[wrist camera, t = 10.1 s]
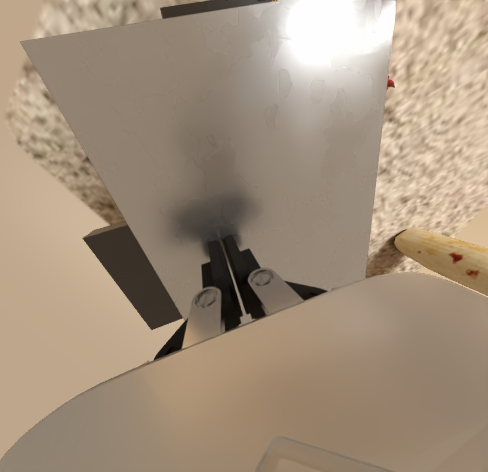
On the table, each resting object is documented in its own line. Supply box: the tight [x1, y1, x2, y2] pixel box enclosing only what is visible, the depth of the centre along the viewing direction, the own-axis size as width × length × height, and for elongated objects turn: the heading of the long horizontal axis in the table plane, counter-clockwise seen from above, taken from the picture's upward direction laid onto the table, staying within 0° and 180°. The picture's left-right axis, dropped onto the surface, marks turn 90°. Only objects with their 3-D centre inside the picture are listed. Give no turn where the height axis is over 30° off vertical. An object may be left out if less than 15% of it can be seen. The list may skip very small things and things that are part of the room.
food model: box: [394, 228, 488, 296], centre depth 28 cm, size 10×7×20 cm
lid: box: [20, 0, 397, 330], centre depth 13 cm, size 23×19×1 cm
